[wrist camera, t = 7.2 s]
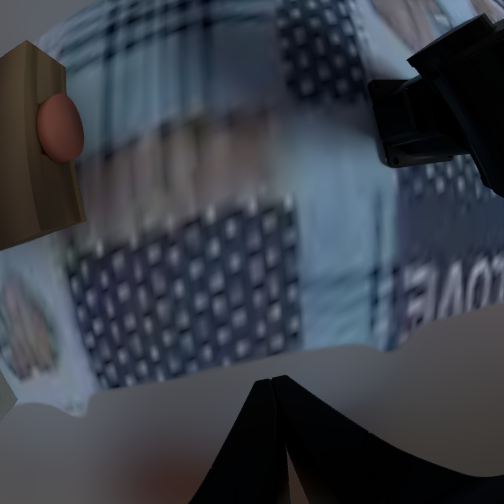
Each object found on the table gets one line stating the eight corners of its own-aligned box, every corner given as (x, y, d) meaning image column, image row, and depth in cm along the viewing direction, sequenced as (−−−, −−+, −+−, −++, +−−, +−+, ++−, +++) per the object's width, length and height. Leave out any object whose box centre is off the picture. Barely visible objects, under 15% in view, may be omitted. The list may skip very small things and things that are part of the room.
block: (65, 67, 15) (26, 39, 10) (86, 220, 18) (40, 231, 12) (8, 100, 15) (-34, 86, 9) (26, 242, 17) (-21, 258, 12)
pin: (79, 102, 16) (48, 85, 11) (87, 160, 17) (53, 154, 12) (-10, 152, 15) (-45, 149, 11) (-4, 204, 16) (-40, 208, 12)
